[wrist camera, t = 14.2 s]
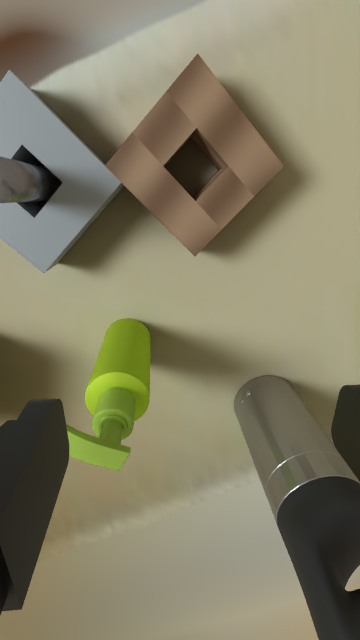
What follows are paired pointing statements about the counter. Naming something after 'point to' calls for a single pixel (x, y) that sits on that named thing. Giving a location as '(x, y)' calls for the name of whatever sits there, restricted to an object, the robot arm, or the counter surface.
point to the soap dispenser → (115, 395)
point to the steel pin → (25, 182)
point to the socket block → (64, 162)
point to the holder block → (217, 144)
